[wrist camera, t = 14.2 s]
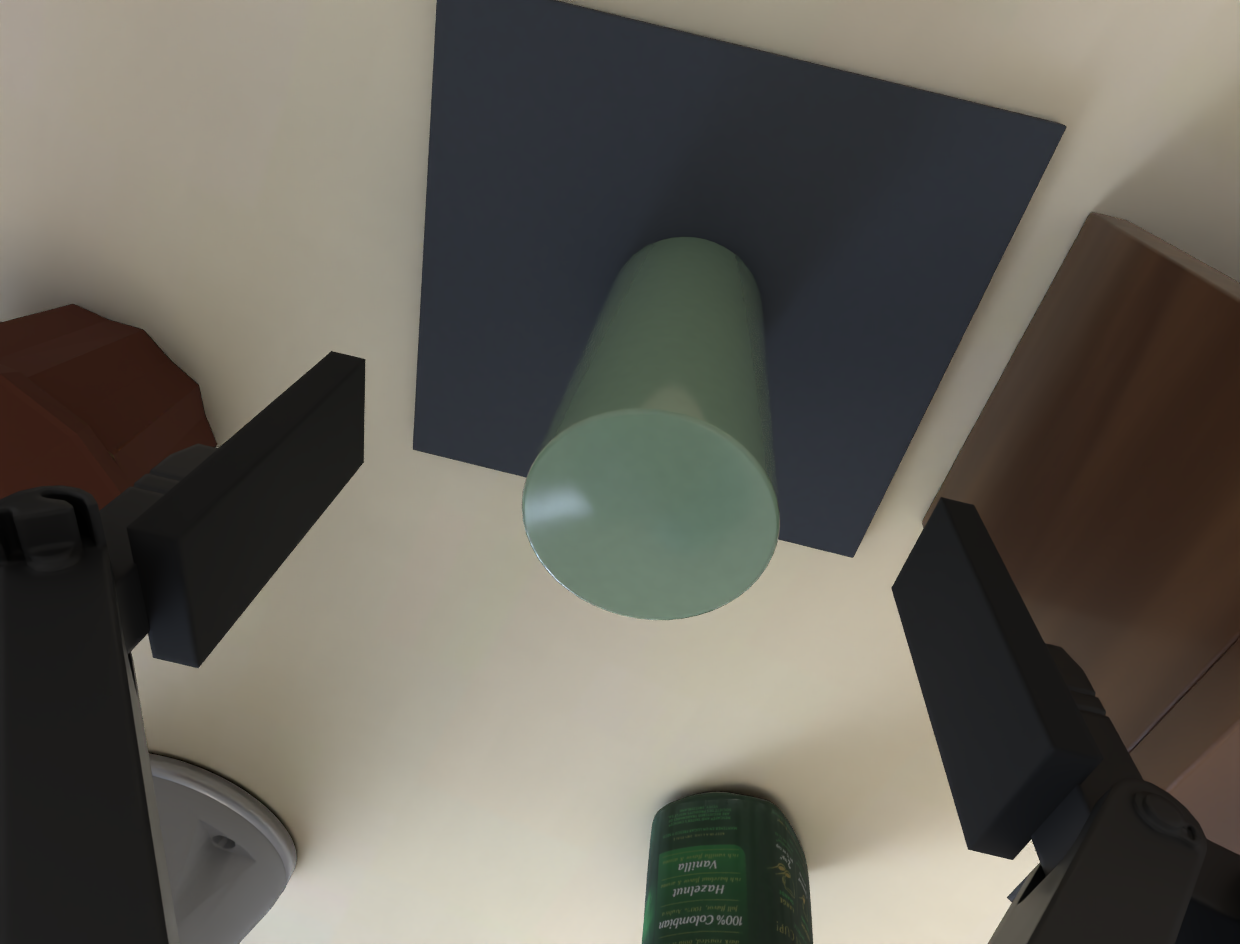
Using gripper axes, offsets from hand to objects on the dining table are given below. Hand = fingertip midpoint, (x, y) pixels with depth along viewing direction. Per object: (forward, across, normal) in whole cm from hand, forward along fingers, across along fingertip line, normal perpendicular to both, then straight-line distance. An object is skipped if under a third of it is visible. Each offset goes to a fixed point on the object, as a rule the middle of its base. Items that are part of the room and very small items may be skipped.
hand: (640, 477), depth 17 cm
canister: (+10, 0, 0) cm, 10 cm away
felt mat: (+10, 0, 0) cm, 10 cm away
